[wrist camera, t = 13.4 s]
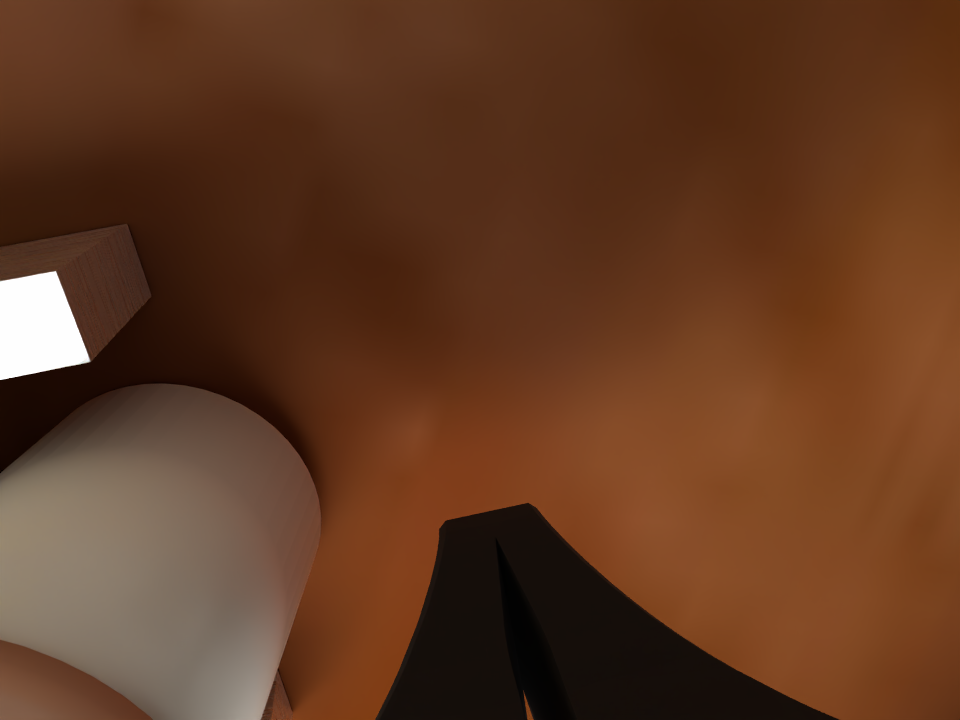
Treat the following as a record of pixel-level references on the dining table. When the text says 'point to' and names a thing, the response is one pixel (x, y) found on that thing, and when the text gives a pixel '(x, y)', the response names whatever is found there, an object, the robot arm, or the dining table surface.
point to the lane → (76, 317)
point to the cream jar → (152, 560)
